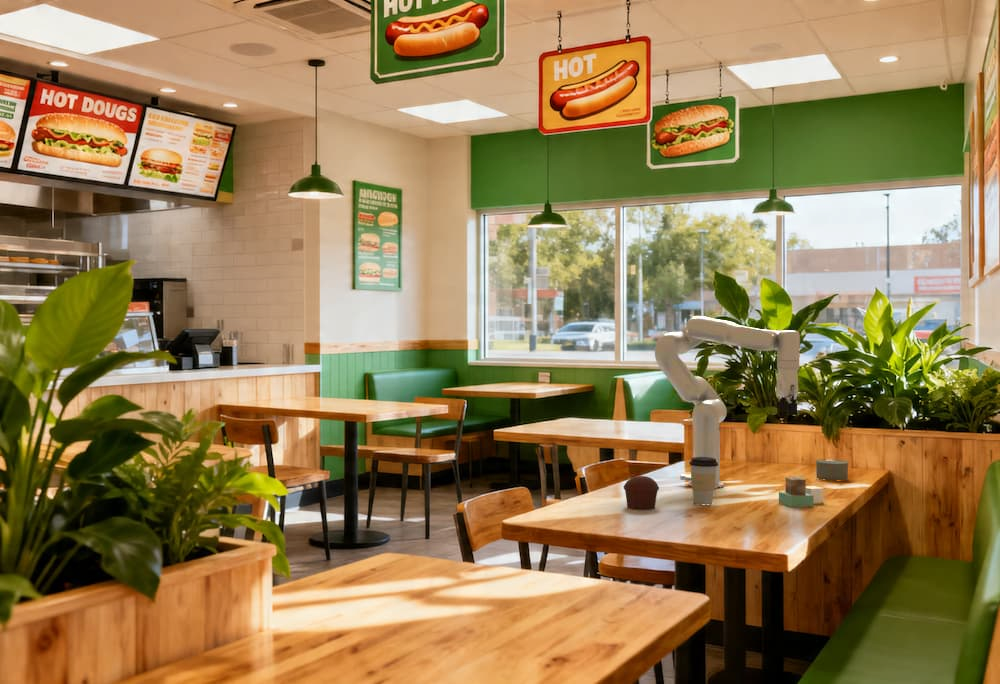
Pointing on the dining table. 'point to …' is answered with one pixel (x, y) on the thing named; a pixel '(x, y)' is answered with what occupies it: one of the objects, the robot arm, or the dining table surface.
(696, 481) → the coffee cup
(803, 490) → the walnut cube
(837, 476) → the can
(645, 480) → the muffin
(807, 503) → the green base
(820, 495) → the cream cube
